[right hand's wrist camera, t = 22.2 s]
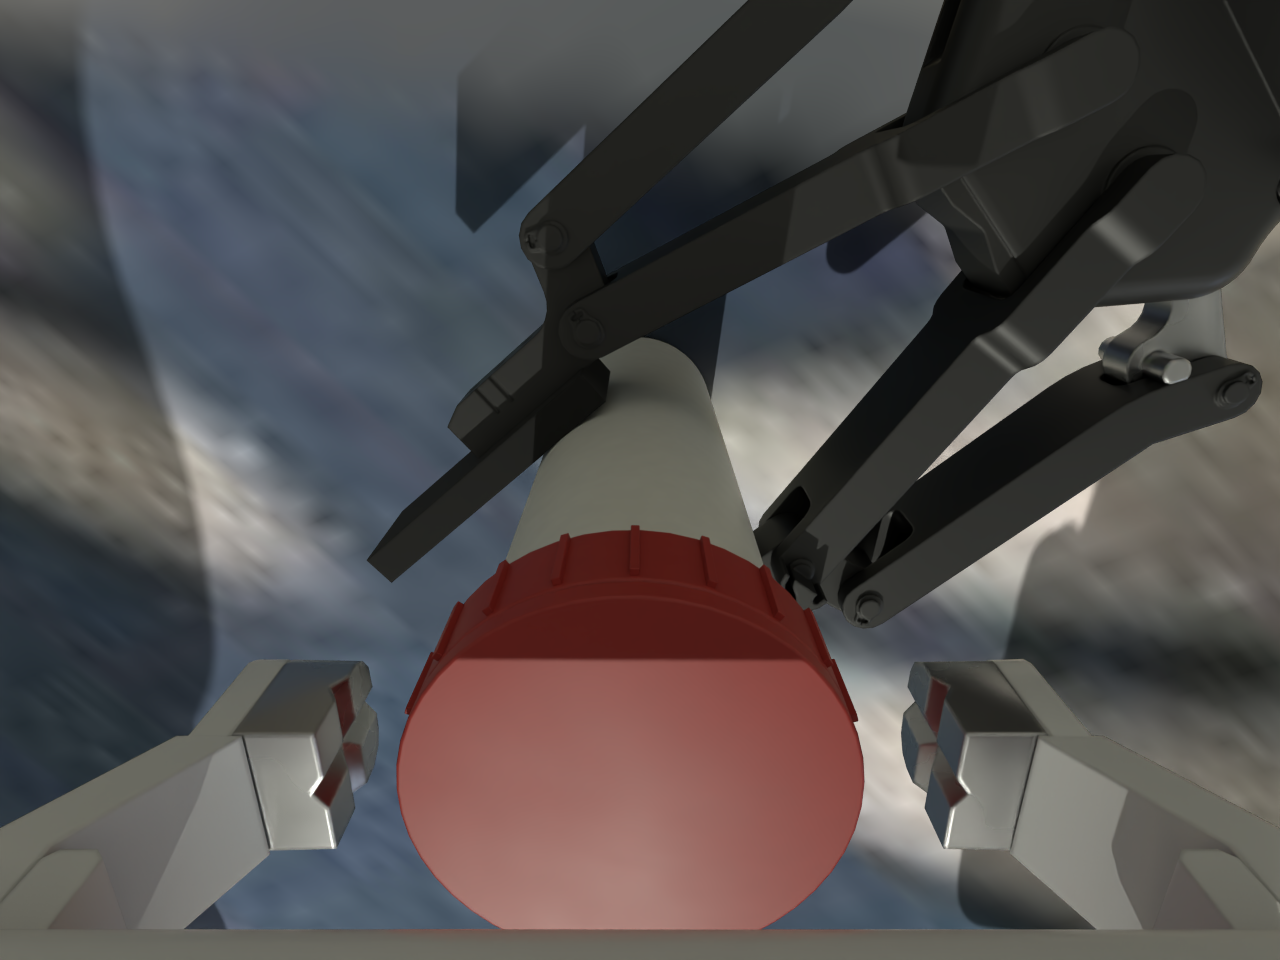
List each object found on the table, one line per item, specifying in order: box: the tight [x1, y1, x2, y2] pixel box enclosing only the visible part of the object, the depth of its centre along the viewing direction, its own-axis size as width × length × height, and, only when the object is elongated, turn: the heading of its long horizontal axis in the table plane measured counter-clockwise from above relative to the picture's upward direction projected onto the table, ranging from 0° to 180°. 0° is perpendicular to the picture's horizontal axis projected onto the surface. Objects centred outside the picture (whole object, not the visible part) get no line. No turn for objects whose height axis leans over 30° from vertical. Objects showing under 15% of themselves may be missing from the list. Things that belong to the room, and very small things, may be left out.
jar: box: [506, 337, 763, 568], centre depth 17 cm, size 5×5×15 cm
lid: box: [397, 525, 864, 930], centre depth 9 cm, size 6×6×2 cm
